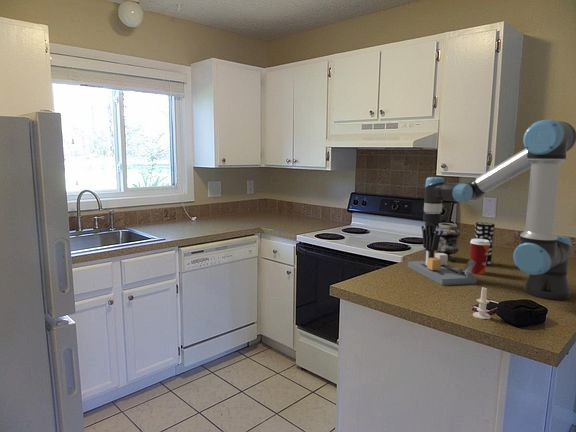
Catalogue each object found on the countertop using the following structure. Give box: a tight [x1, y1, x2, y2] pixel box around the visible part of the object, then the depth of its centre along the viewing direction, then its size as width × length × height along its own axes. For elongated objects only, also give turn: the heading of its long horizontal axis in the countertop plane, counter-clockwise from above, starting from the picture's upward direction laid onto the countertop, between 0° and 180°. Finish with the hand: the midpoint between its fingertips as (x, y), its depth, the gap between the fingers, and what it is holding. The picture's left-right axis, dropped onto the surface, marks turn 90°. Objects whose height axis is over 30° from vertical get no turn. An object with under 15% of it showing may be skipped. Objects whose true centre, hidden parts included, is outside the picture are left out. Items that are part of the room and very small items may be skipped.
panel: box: [407, 260, 478, 286], centre depth 183 cm, size 28×16×4 cm, turn 13°
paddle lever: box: [462, 258, 476, 275], centre depth 174 cm, size 3×2×7 cm, turn 13°
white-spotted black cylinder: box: [473, 221, 496, 267], centre depth 202 cm, size 8×8×20 cm
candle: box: [472, 286, 491, 320], centre depth 136 cm, size 5×5×10 cm
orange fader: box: [427, 256, 441, 270], centre depth 181 cm, size 4×4×4 cm
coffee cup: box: [469, 238, 490, 275], centre depth 187 cm, size 8×8×15 cm
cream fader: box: [434, 252, 448, 265], centre depth 190 cm, size 4×4×4 cm
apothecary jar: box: [436, 222, 461, 262], centre depth 211 cm, size 12×12×18 cm
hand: (429, 264), depth 185 cm, fingers closed
